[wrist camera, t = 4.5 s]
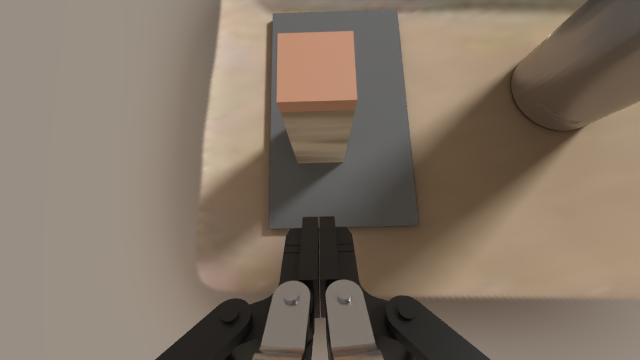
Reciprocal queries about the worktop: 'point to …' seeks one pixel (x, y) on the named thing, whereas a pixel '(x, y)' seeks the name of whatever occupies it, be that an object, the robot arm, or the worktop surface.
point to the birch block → (317, 93)
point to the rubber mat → (365, 135)
